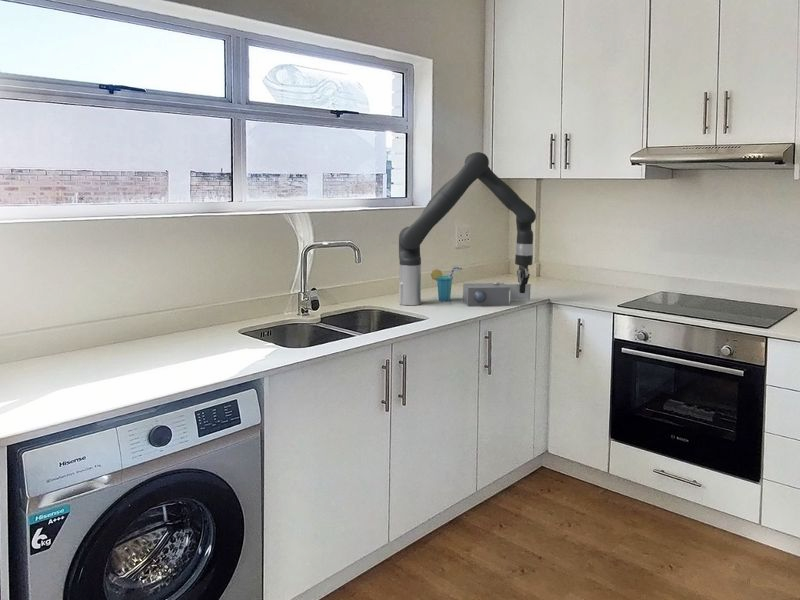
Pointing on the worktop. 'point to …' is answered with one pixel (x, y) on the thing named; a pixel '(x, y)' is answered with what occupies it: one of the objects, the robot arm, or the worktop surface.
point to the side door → (516, 294)
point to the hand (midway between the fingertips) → (522, 292)
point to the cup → (443, 284)
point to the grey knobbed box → (486, 294)
